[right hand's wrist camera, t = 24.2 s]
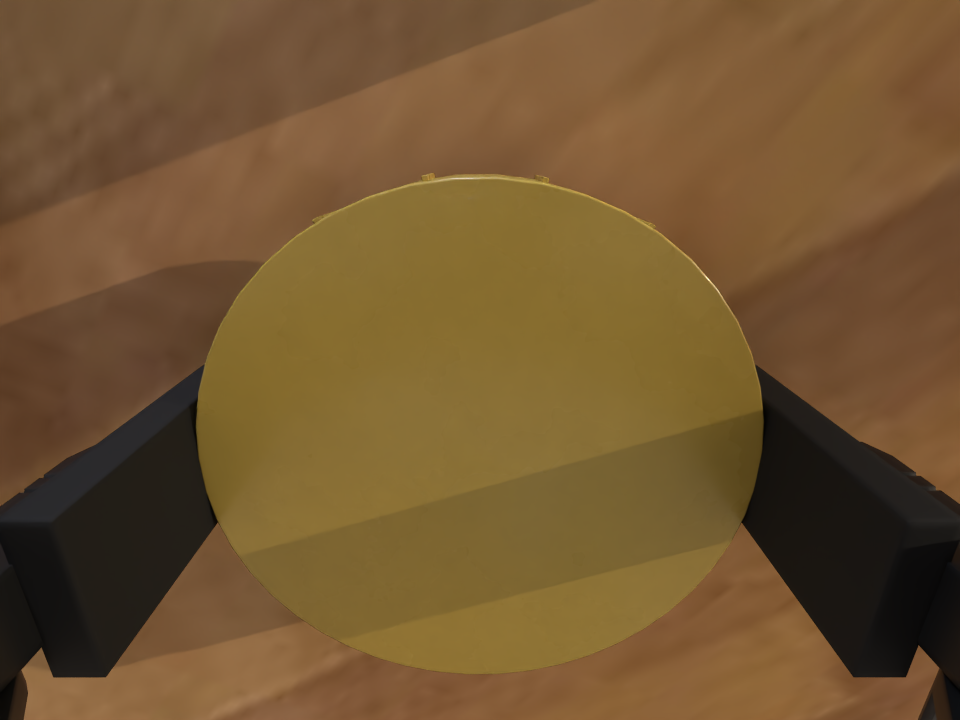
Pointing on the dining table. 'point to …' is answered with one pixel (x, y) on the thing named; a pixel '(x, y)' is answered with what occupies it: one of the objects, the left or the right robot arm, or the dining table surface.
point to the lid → (479, 424)
